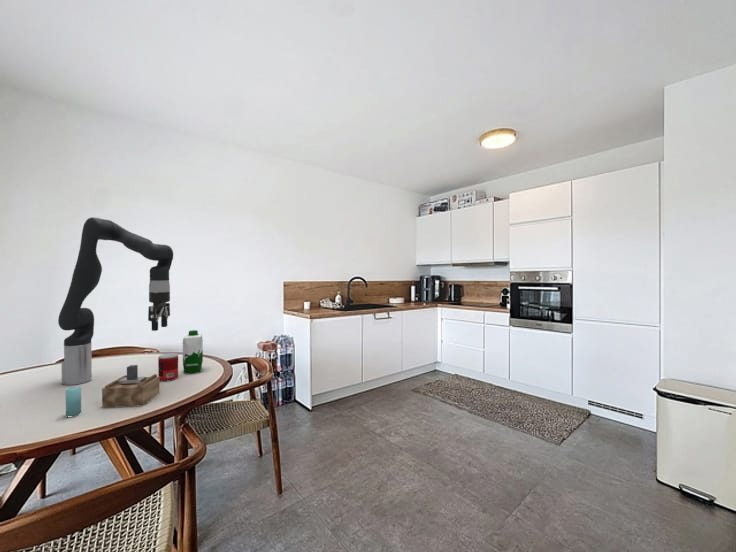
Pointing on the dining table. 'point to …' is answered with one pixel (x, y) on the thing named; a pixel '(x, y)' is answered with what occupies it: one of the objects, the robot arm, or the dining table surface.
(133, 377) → the latch bar
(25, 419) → the dining table surface
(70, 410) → the dowel
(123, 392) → the socket block
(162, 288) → the robot arm
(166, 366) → the canned food
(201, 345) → the milk carton
